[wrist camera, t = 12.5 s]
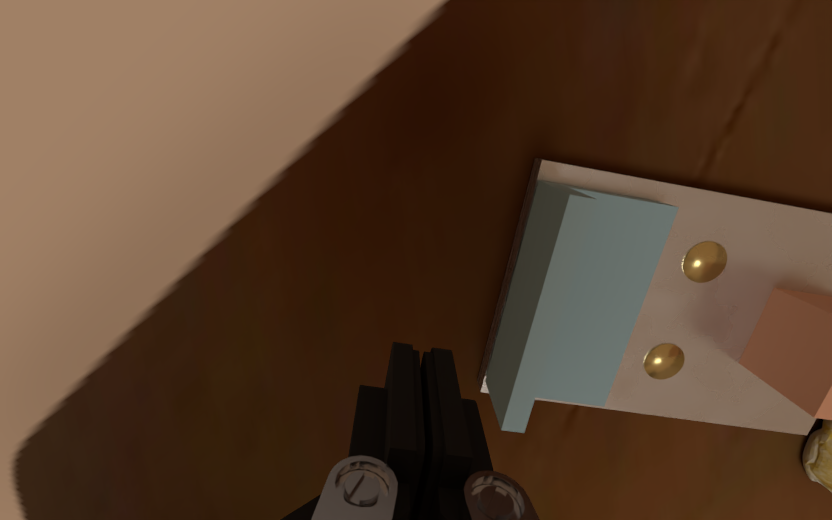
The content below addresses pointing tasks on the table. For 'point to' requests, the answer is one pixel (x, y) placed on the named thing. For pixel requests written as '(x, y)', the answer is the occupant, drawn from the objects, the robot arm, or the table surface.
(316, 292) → the table surface
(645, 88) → the table surface
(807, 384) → the block
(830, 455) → the bread roll
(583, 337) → the cover
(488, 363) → the base
